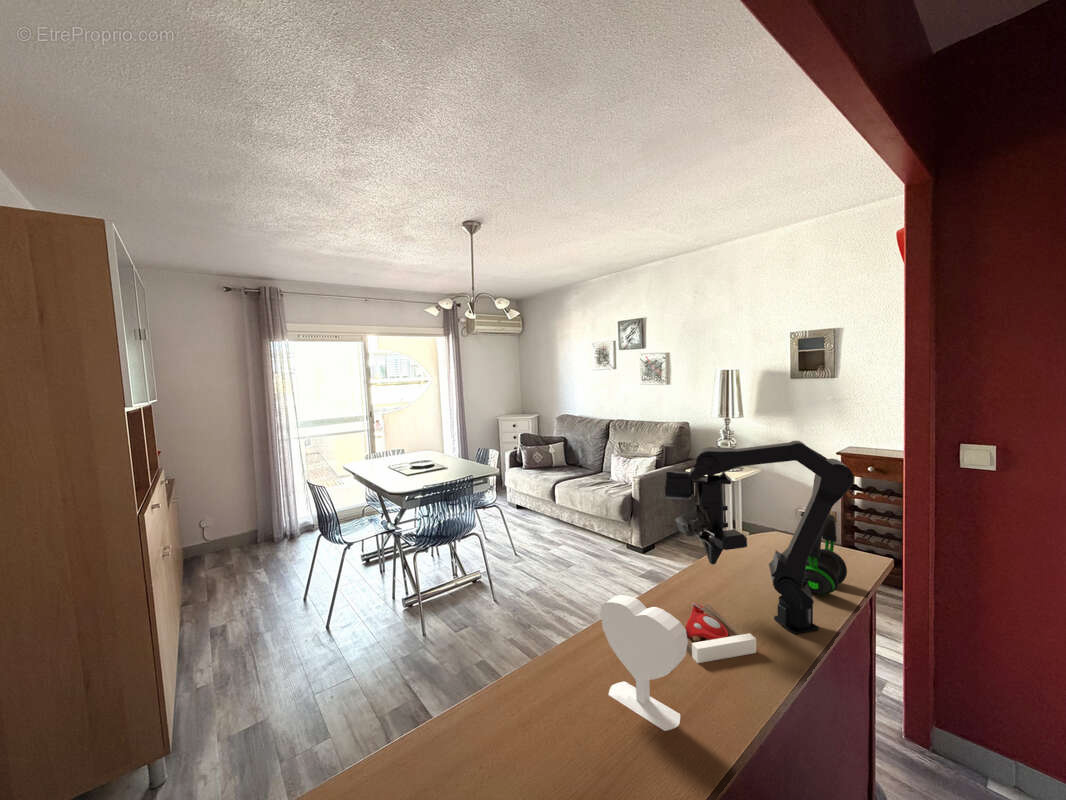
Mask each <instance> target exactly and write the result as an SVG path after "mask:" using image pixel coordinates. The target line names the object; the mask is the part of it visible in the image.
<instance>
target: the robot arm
mask: <svg viewBox="0 0 1066 800" xmlns="http://www.w3.org/2000/svg"><path fill="white" fill-rule="evenodd" d="M793 461H796V462H798V463H799V464H801V465H802V466H804V467H805V468H807V469H808V471H809V470H810V471H811V472H812V473H813V474H814V478H813V484H812V485H813V486H812V493H811V497H810V499H809V501H808V503H807V505H806V507H805V509H804V512H803V514H802V516H801V517H800V521H799V522H798V524H797V527H796V529H795V532H794V533H793V535H792V538H791V540H790V543H789V545H788V547H787V548H786V549H785V550H784V551H782V553H781V552H779V551H778V550H775V551H774V555H773V559H772V560H771V562H769V563H768V566H769V571H770V577H771V581H772V586H773V587H774V589H775V591H776V592H777V593H779V596H778V603H777V615H775V616H773V620H775V621H776V622H778V623H779V624H780V625H781V626H783V627H784V628H785V629H787V630H788V631H789V632H791V633H793V634H795V635H797V634H805V633H809V632H815V631H819V630H820V629H819V626H817V625H816V624H814V622H813V621H814V615H813V614H814V603H815V602H814V598H813V595H812V592H811V591H810V589H809V586H808V584H807V583H806V582H805V581H804V579H805V571H806V562H807V559H808V557H809V555H810V553H811V551H812V549H813V547H814V545H815V543H816V540H817V538H818V536H819V534H820V532H821V530H822V528H823V526H824V524H825V521H826V519H827V517H828V515H829V514H830V512H831V510H832V508H833V507H834V505H835V504H837V503H838V502H839V501H840V500H842V499H843V497H845V495H846V494H847V493H848V491H849V490H850V488H851V487H852V485H853V484H854V481H855V475H854V473H853V471H852V470H851V469H850V468H849V467H848V466H847V465H846V464H844V463H843V462H842V461H840V460H838V459H835V458H827V457H825V456H824V455H823V454H820V453H819V452H818V451H816V450H814V449H813V448H811V447H809V446H807V445H806V444H805V443H804V442H803V441H801V440H792V441H789V442H782V443H773V444H765V445H759V446H758V445H757V446H749V447H741V448H731V447H730V448H729V447H720V446H717V447H716V446H706V447H704V448H702V449H700V451H699V452H698V454H697V457H696V459H695V464H694V465H693V466H691V468H690V471H679V470H677V471H676V470H672V469H670V470H669V469H668V470H667V471H666V478H665V485H664V493H665V498H666V499H677V500H678V499H679V500H691V499H692V496H693V497H694V496H696V484H697V502H695V503H694V504H693V508H692V509H693V510H691V511H687V512H684V513H682V515H680V516H678V517H676V518H675V522H676V523H675V524H676V525H677V528H678V530H679V533H682V534H683V535H685V536H686V537H688V538H689V537H693V536H694V535H695V536H696V537H697V538H698V539H700V541H701V543H702V545H703V547H704V548H703V549H704V550H705V553H706V556H707V560H708V562H709V564H710V565H712V566H714V565H716V564H717V562H718V560H719V558H720V556H721V554H722V552H723V551H730V550H737V549H742V548H747V547H748V537H747V536H746V535H745V534H743V533H741V532H740V531H739V530H738V531H737V530H736V529H728V530H727V529H726V528H729V522H727V521H725V511H728V509H729V507H728V505H726V504H725V503H724V485H732V477H730V476H728V475H727V474H726V472H727V471H731V470H734V469H736V468H739V467H747V466H755V465H756V466H757V465H765V464H774V463H775V464H776V463H784V462H785V463H786V462H793ZM705 476H707V477H705Z"/></svg>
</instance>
